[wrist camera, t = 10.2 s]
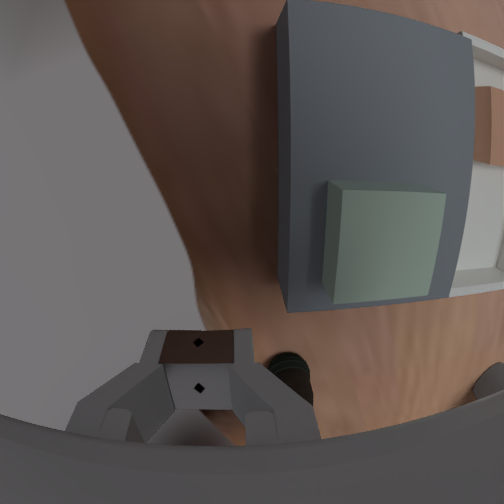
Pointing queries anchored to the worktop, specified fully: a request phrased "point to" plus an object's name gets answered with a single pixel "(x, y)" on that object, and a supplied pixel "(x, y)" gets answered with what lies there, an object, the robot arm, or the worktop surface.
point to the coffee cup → (490, 381)
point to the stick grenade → (293, 374)
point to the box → (483, 198)
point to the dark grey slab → (367, 130)
